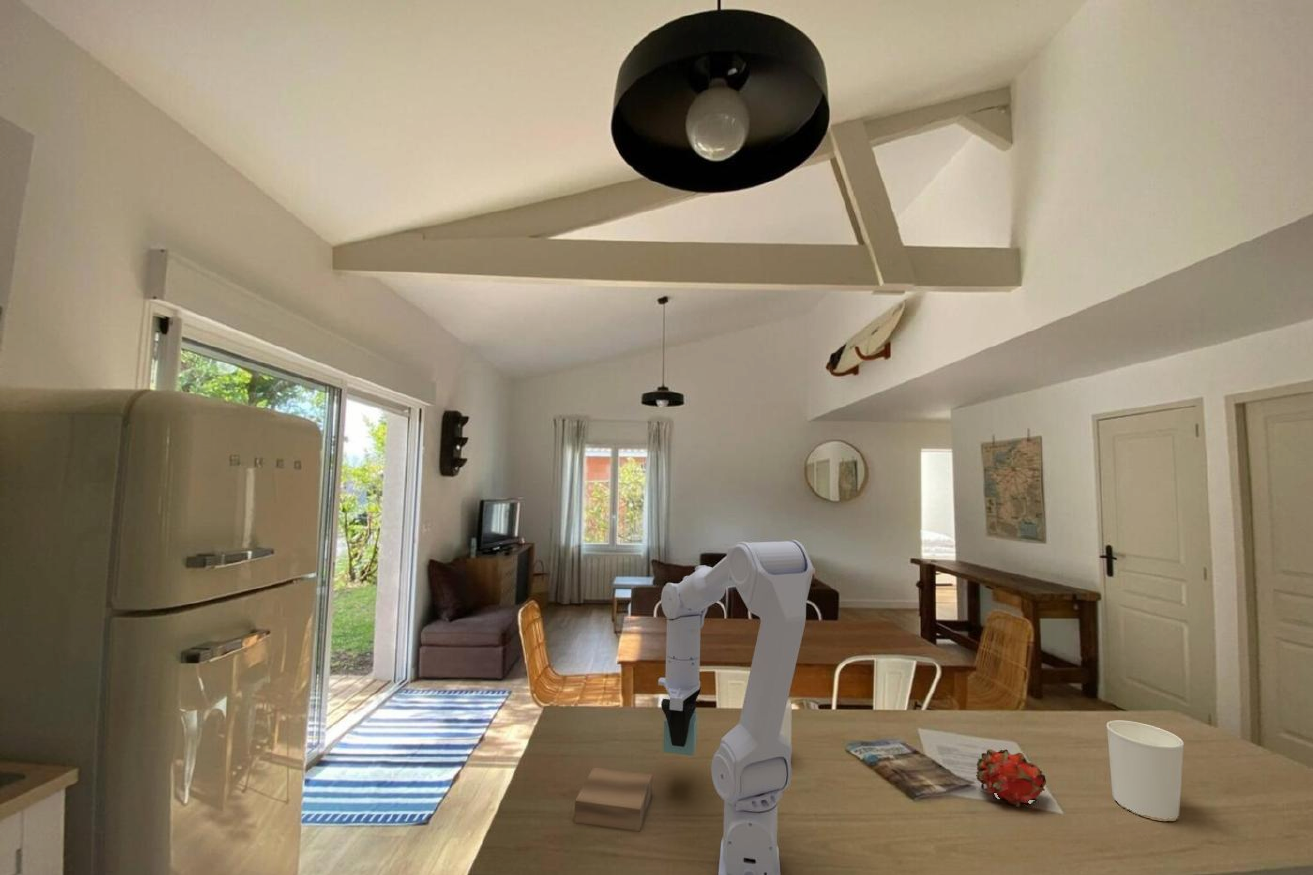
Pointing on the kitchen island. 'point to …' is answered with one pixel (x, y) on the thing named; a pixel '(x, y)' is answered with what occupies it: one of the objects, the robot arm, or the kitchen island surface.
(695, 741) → the teal cube
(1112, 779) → the candle holder
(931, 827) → the kitchen island surface
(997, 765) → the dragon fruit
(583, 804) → the walnut block
